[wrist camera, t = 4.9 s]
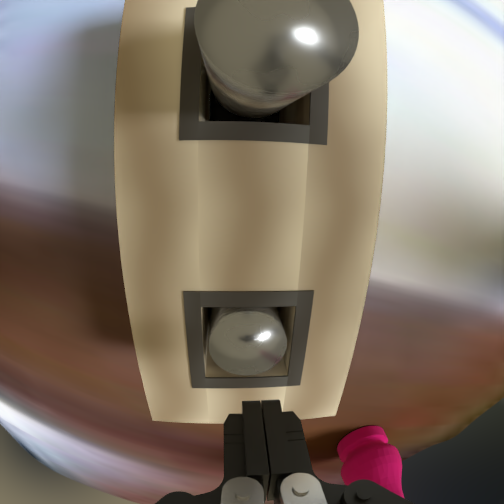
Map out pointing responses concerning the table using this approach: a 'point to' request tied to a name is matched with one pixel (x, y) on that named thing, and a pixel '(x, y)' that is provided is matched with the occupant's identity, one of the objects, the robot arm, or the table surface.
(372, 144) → the collar block
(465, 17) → the table surface
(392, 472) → the pepper mill
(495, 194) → the table surface
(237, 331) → the peg
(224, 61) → the peg
